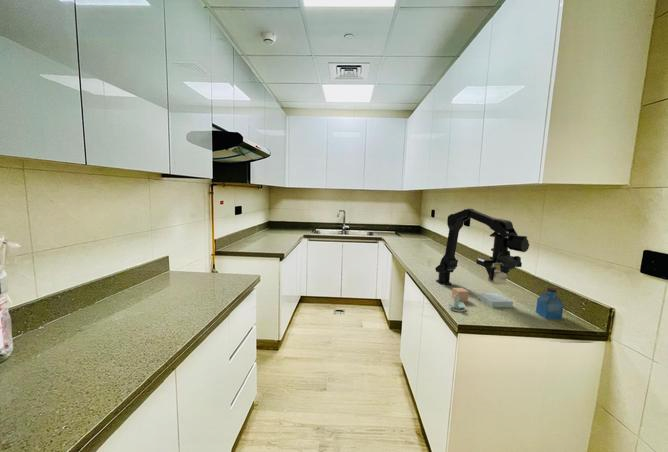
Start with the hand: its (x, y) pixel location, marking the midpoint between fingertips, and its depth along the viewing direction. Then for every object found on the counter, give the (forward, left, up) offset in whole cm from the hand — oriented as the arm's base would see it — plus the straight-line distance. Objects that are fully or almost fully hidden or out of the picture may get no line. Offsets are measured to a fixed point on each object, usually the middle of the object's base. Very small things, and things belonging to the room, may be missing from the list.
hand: (496, 280), depth 124 cm
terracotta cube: (-4, -15, -11) cm, 19 cm away
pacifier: (+6, -22, -11) cm, 26 cm away
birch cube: (0, 0, -1) cm, 1 cm away
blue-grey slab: (0, 0, -11) cm, 11 cm away
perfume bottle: (+14, +14, -11) cm, 23 cm away
